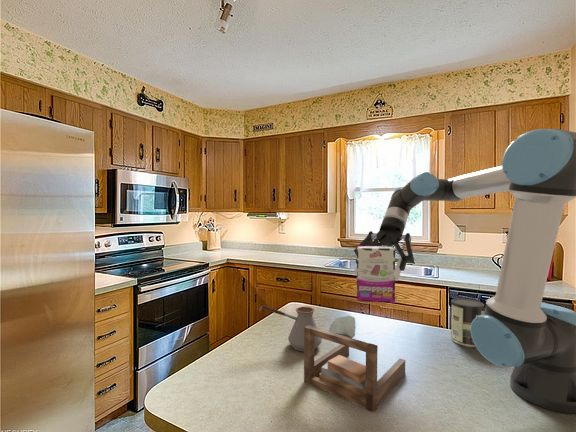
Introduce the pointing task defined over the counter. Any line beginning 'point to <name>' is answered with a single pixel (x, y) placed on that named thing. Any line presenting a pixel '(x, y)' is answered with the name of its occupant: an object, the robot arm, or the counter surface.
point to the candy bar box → (375, 274)
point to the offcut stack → (345, 374)
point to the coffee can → (464, 320)
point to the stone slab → (344, 326)
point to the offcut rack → (312, 369)
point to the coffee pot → (299, 326)
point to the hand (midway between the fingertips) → (375, 275)
